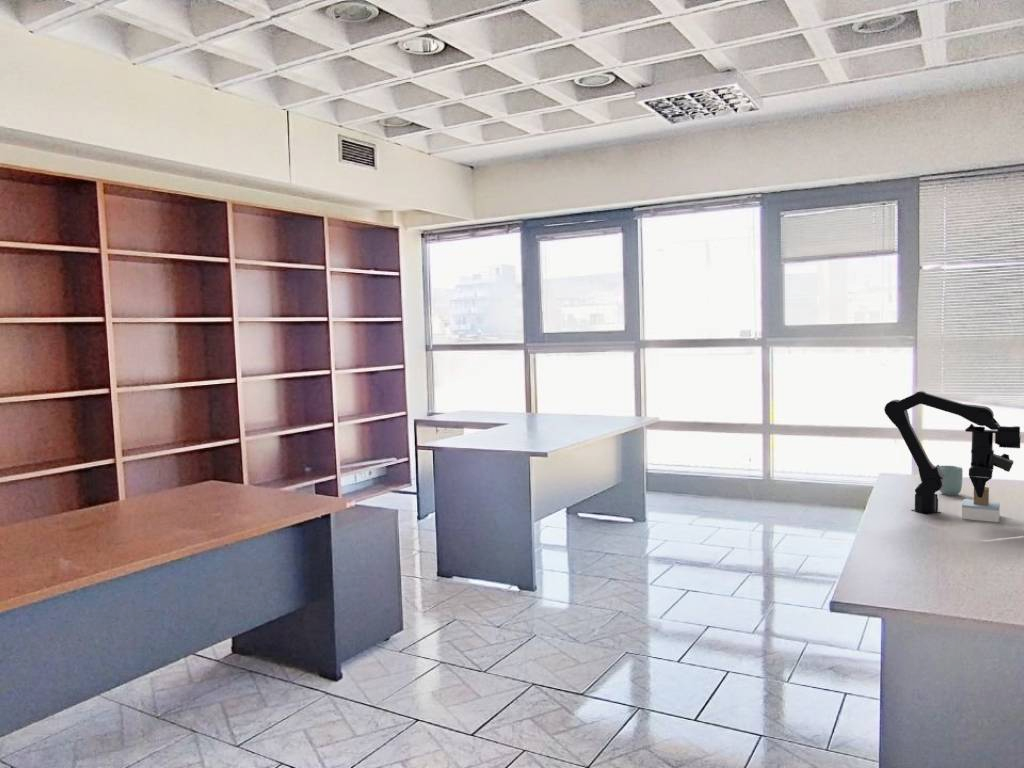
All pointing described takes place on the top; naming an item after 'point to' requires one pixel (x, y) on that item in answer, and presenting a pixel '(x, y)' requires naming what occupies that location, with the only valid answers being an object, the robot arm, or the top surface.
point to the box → (980, 514)
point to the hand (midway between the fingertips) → (980, 494)
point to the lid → (981, 502)
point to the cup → (951, 480)
